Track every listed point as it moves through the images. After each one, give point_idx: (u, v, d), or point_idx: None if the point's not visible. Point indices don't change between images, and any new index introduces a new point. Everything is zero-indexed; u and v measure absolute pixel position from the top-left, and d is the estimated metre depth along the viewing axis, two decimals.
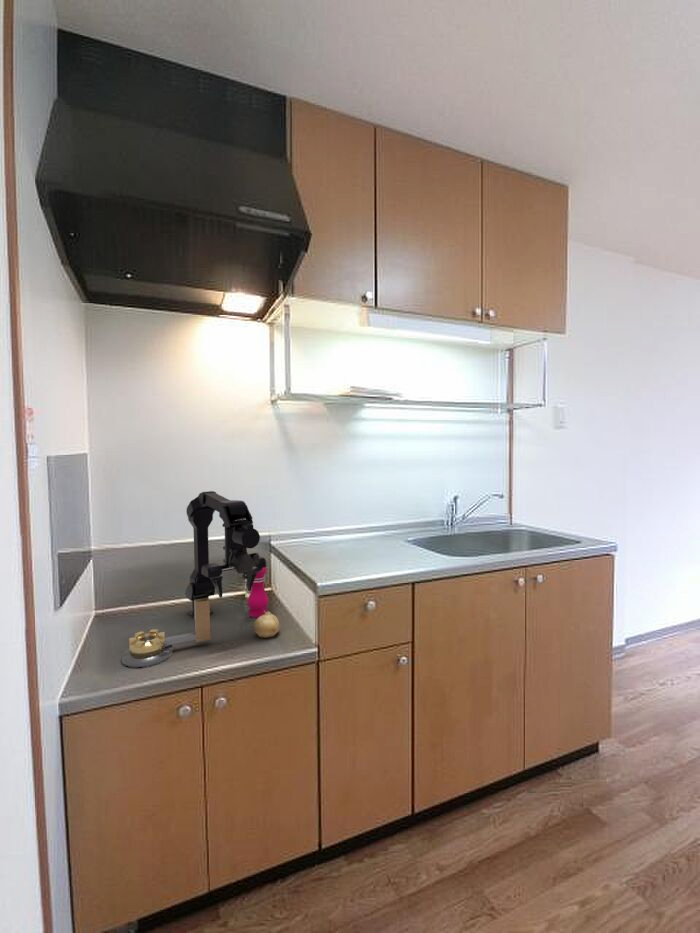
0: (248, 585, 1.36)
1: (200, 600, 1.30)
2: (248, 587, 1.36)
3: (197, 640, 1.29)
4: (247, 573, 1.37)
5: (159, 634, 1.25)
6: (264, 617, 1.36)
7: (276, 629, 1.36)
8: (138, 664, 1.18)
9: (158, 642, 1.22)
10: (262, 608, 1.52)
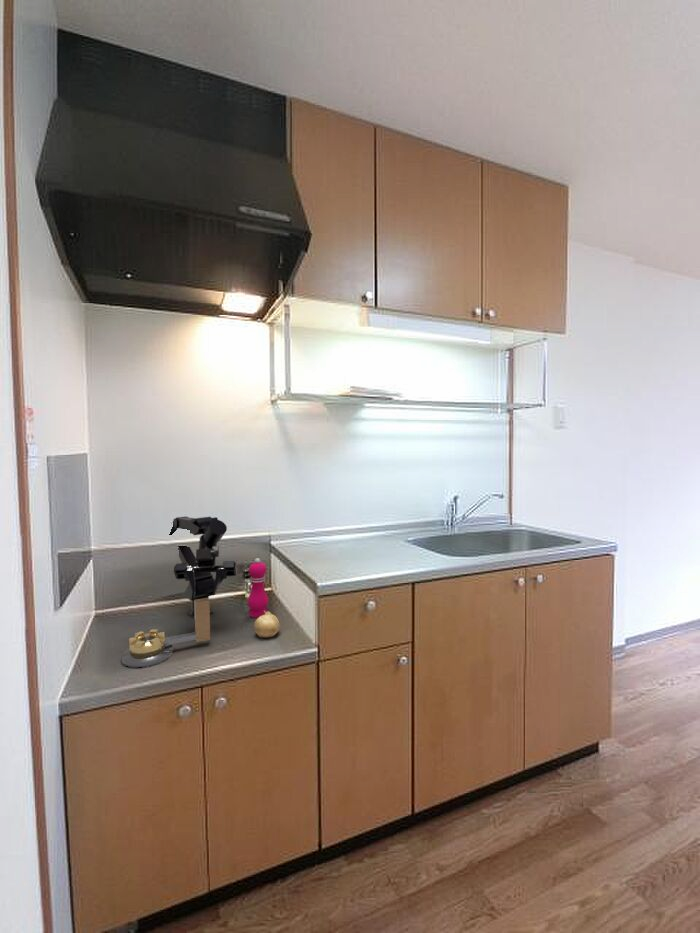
0: (213, 588, 1.37)
1: (200, 600, 1.30)
2: None
3: (197, 640, 1.29)
4: None
5: (159, 634, 1.25)
6: (264, 617, 1.36)
7: (276, 629, 1.36)
8: (138, 664, 1.18)
9: (158, 642, 1.22)
10: (262, 608, 1.52)
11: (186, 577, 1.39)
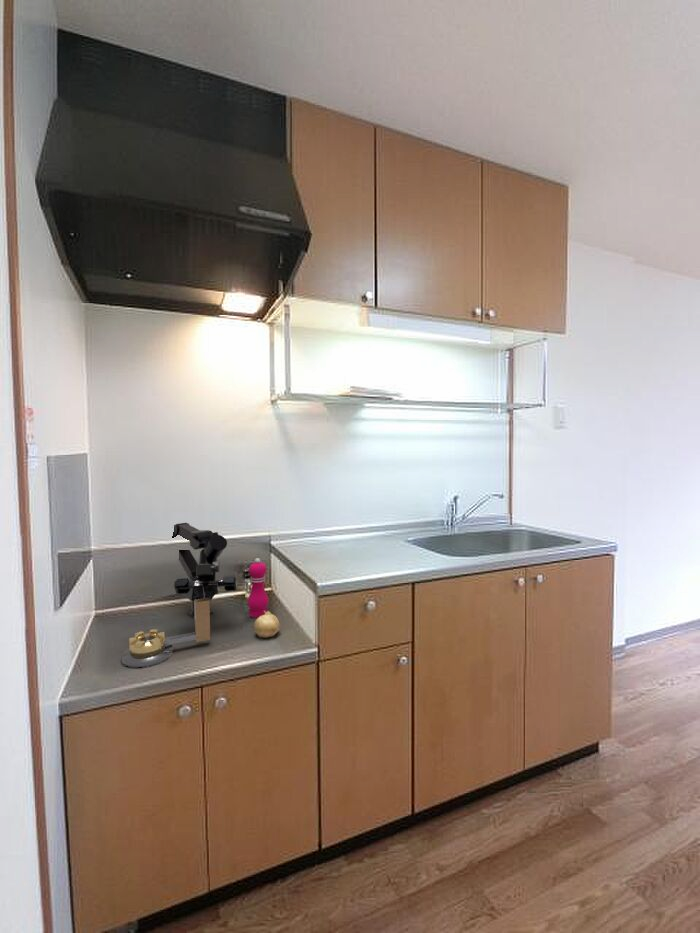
0: None
1: (200, 600, 1.30)
2: None
3: (197, 640, 1.29)
4: None
5: (159, 634, 1.25)
6: (264, 617, 1.36)
7: (276, 629, 1.36)
8: (138, 664, 1.18)
9: (158, 642, 1.22)
10: (262, 608, 1.52)
11: (196, 592, 1.40)
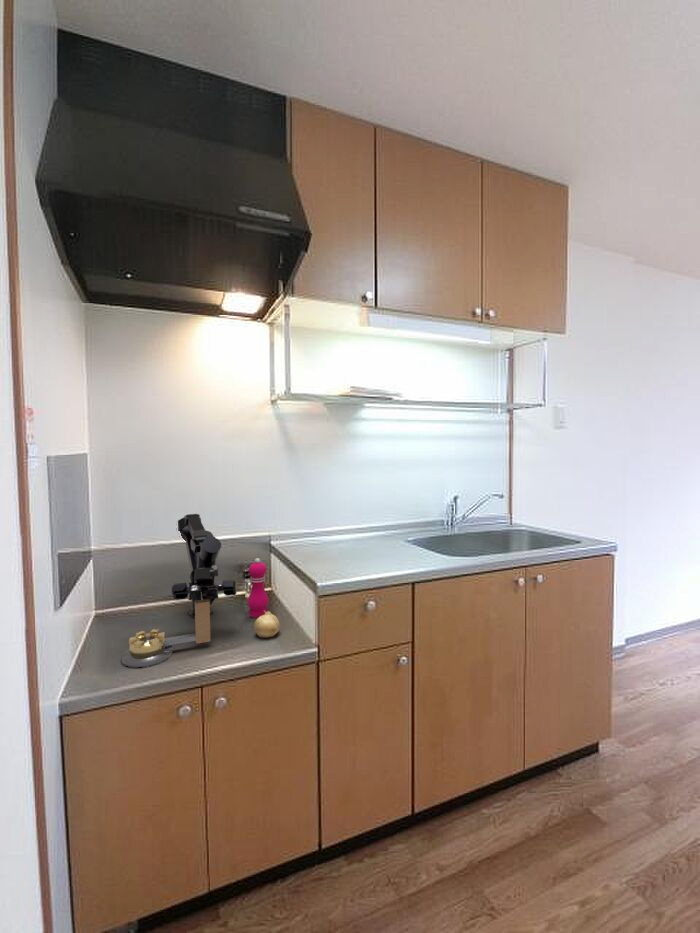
0: None
1: (200, 601, 1.29)
2: None
3: (197, 641, 1.28)
4: None
5: (159, 634, 1.25)
6: (264, 617, 1.36)
7: (276, 629, 1.36)
8: (138, 664, 1.18)
9: (157, 642, 1.22)
10: (262, 608, 1.52)
11: (193, 597, 1.35)
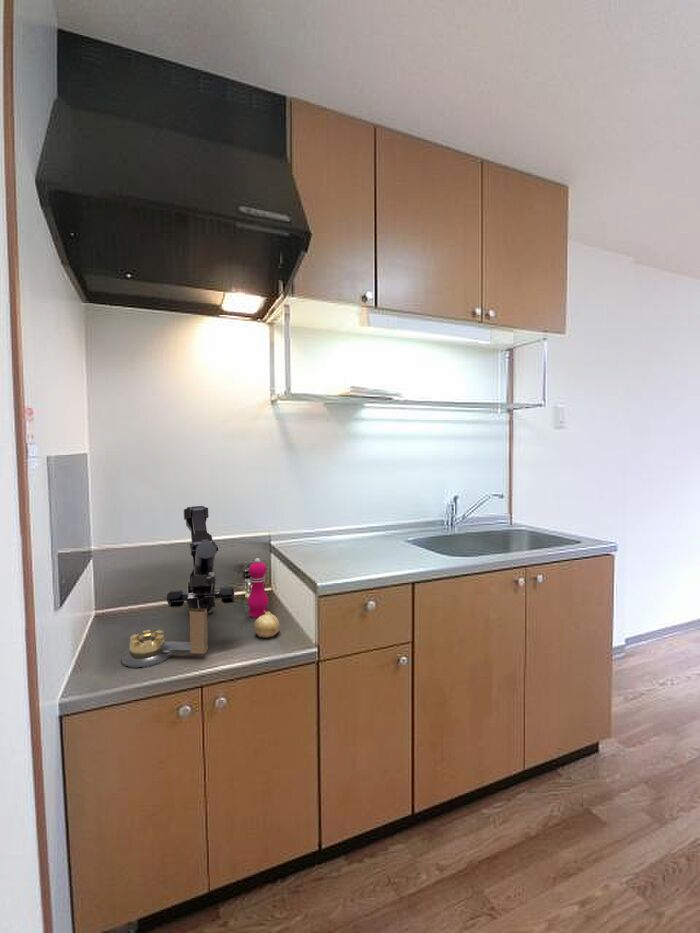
0: None
1: (196, 610, 1.23)
2: None
3: (191, 651, 1.22)
4: None
5: (157, 637, 1.24)
6: (264, 617, 1.36)
7: (276, 629, 1.36)
8: (138, 664, 1.18)
9: (150, 645, 1.21)
10: (262, 608, 1.52)
11: (189, 605, 1.29)
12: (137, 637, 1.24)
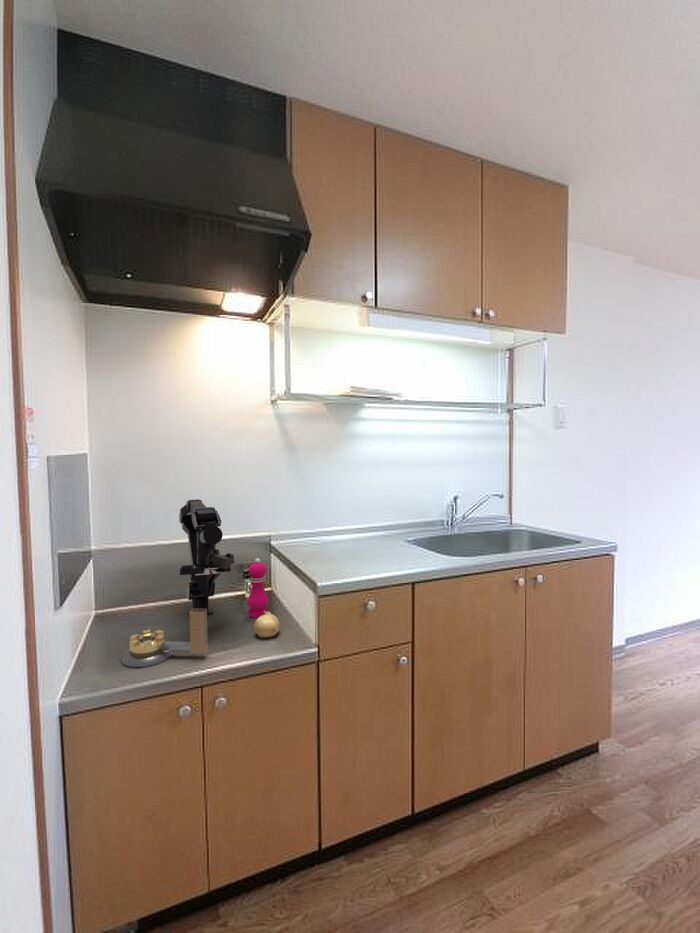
0: None
1: (196, 610, 1.23)
2: None
3: (191, 651, 1.22)
4: None
5: (157, 637, 1.24)
6: (264, 617, 1.36)
7: (276, 629, 1.36)
8: (138, 664, 1.18)
9: (150, 645, 1.21)
10: (262, 608, 1.52)
11: (198, 576, 1.36)
12: (137, 637, 1.24)
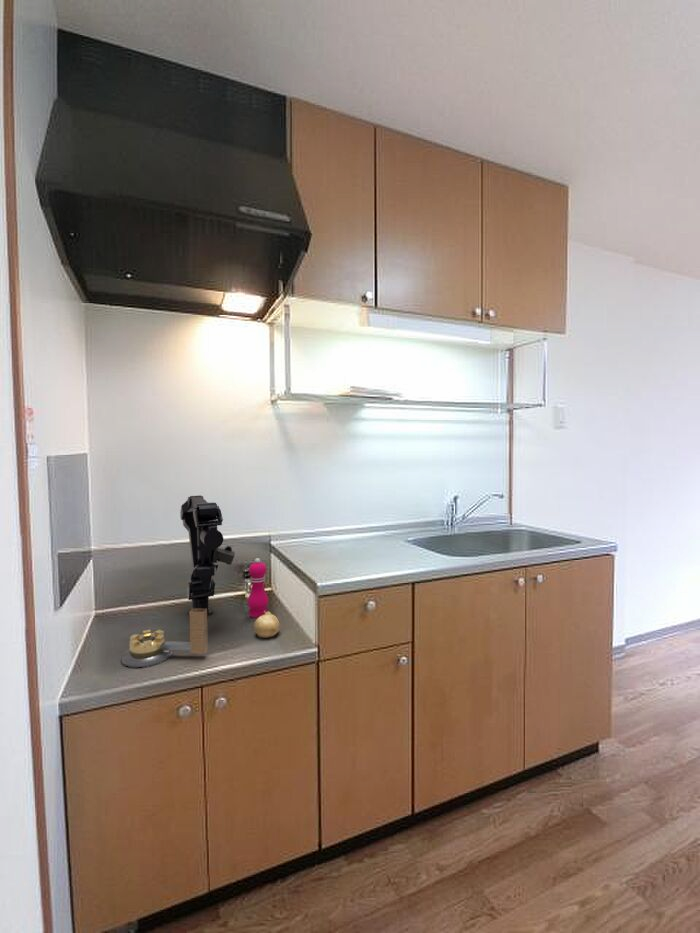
0: None
1: (196, 610, 1.23)
2: None
3: (191, 651, 1.22)
4: None
5: (157, 637, 1.24)
6: (264, 617, 1.36)
7: (276, 629, 1.36)
8: (138, 664, 1.18)
9: (150, 645, 1.21)
10: (262, 608, 1.52)
11: None
12: (137, 637, 1.24)
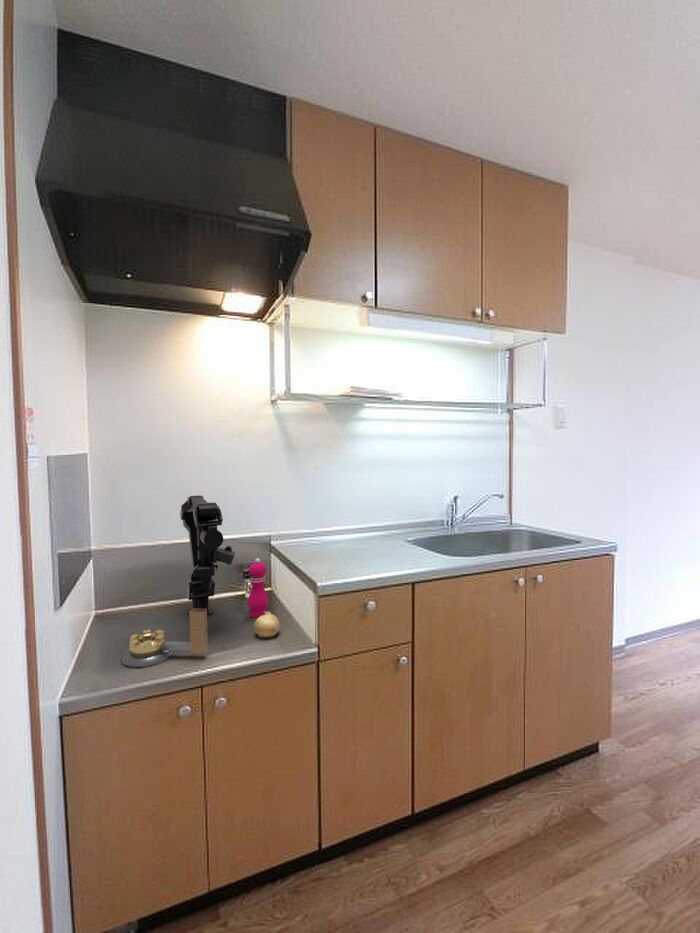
0: None
1: (196, 610, 1.23)
2: None
3: (191, 651, 1.22)
4: None
5: (157, 637, 1.24)
6: (264, 617, 1.36)
7: (276, 629, 1.36)
8: (138, 664, 1.18)
9: (150, 645, 1.21)
10: (262, 608, 1.52)
11: None
12: (137, 637, 1.24)
